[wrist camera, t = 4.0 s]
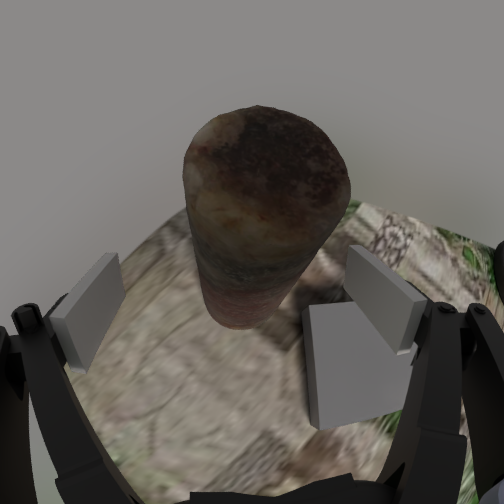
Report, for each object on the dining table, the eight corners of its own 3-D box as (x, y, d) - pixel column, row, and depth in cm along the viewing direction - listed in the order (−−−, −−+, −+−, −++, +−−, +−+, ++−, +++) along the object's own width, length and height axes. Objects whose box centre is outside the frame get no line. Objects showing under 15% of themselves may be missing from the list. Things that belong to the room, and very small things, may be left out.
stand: (397, 302, 30) (410, 294, 27) (408, 400, 25) (424, 401, 22) (301, 311, 28) (308, 305, 26) (310, 425, 24) (319, 430, 21)
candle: (275, 262, 31) (334, 110, 12) (281, 329, 28) (379, 242, 9) (204, 263, 30) (177, 105, 12) (205, 332, 27) (155, 246, 9)
